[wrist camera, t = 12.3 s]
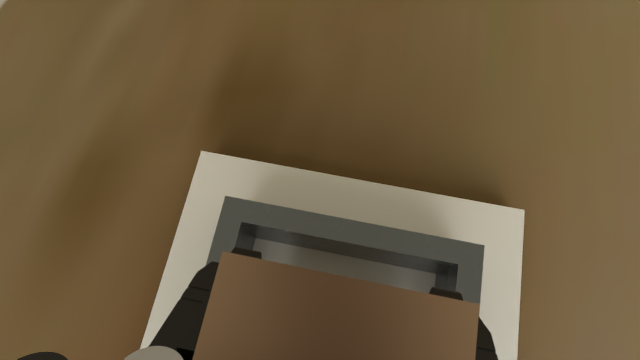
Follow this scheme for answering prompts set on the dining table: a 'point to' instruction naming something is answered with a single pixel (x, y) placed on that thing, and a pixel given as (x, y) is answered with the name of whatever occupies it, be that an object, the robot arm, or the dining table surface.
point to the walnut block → (327, 317)
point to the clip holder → (349, 237)
